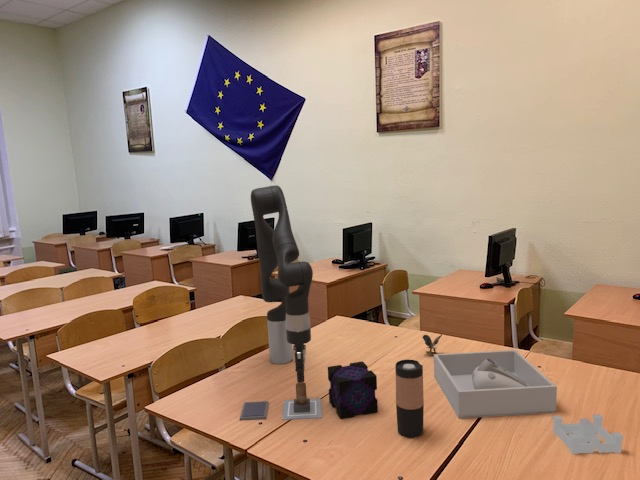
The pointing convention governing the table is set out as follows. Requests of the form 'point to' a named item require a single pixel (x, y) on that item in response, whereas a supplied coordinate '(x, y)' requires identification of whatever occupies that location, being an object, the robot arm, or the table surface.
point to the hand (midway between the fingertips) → (301, 375)
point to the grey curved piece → (494, 377)
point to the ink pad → (254, 410)
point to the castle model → (587, 436)
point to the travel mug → (409, 398)
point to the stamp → (301, 399)
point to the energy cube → (352, 390)
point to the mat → (314, 412)
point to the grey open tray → (472, 403)
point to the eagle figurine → (431, 344)
